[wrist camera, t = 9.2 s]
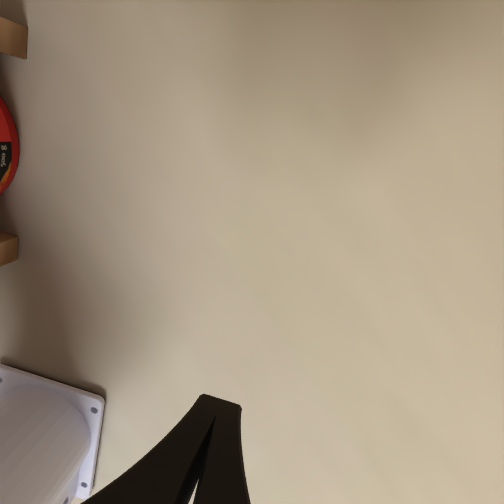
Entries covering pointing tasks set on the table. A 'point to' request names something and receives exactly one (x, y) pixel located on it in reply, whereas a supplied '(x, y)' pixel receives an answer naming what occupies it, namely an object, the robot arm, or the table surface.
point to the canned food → (7, 147)
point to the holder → (15, 43)
